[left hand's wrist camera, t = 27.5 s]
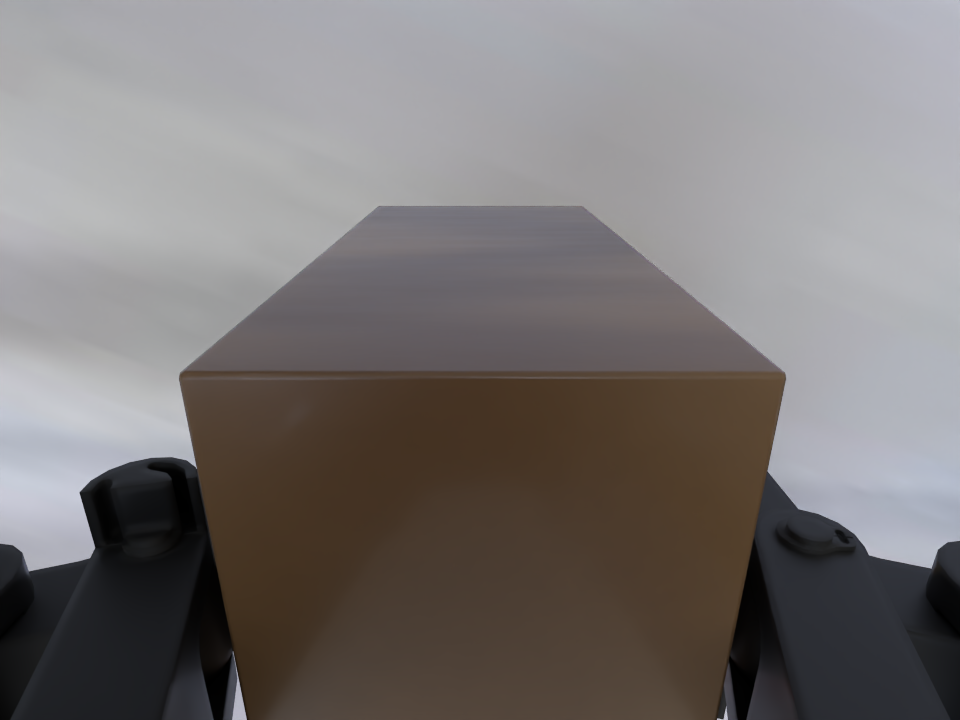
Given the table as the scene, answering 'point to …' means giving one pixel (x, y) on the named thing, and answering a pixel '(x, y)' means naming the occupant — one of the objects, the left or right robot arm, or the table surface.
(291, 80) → the table surface
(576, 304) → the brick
